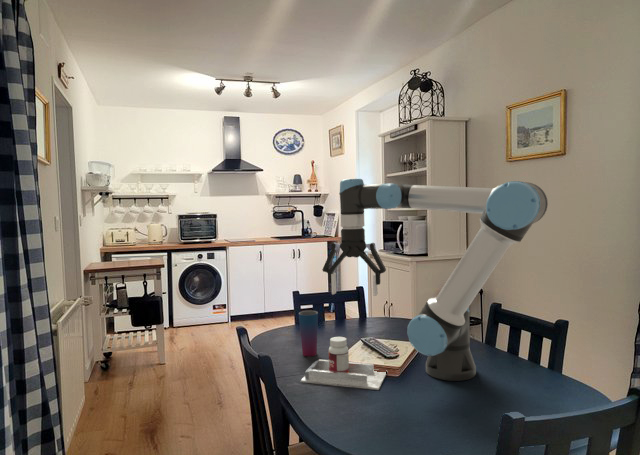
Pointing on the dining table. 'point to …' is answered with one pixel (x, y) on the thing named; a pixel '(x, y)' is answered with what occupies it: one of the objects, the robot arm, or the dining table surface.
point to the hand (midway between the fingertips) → (354, 294)
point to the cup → (308, 332)
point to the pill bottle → (338, 355)
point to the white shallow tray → (345, 375)
